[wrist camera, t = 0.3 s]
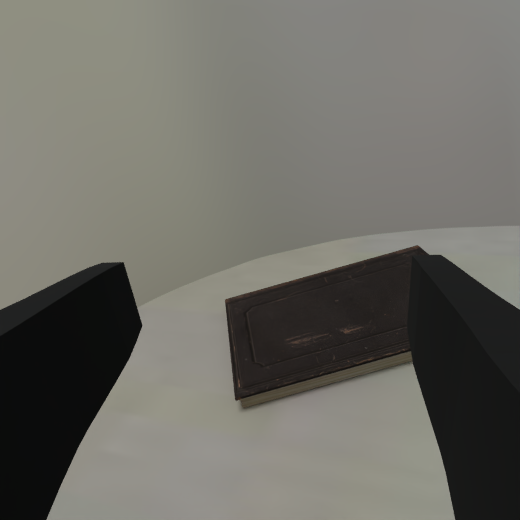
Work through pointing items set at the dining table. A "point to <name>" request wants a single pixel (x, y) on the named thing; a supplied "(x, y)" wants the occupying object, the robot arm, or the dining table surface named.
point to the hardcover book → (320, 328)
